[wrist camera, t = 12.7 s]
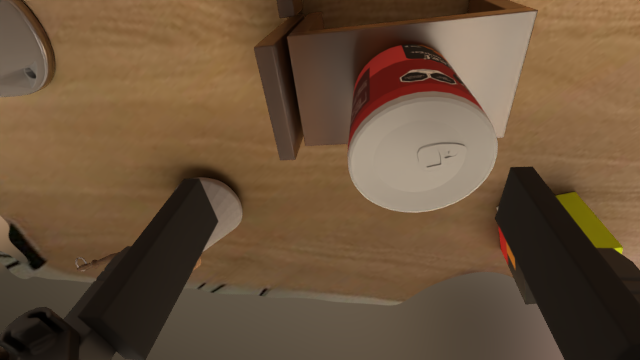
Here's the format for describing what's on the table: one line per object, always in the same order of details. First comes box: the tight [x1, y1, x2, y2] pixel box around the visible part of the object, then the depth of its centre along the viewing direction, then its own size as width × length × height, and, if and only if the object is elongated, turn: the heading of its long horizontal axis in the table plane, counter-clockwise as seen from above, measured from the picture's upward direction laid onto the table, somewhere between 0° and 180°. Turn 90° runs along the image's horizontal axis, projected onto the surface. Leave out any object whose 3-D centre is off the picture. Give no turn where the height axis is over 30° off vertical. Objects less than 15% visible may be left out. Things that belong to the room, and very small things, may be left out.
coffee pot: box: [75, 177, 243, 271], centre depth 47 cm, size 21×12×15 cm, turn 100°
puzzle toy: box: [496, 192, 623, 304], centre depth 43 cm, size 10×10×10 cm
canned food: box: [348, 44, 498, 212], centre depth 21 cm, size 8×8×11 cm
